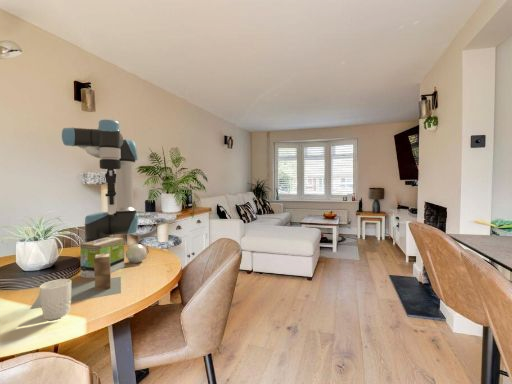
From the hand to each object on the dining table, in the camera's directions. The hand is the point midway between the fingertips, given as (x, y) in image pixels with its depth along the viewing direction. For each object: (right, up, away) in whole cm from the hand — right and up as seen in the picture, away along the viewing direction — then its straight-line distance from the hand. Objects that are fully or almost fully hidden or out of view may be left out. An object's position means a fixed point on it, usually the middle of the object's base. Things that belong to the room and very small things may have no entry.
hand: (111, 211), depth 108 cm
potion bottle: (-2, -28, +29) cm, 40 cm away
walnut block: (0, -29, -7) cm, 29 cm away
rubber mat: (-6, -29, -10) cm, 31 cm away
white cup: (-3, -30, -26) cm, 40 cm away
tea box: (-9, -29, +11) cm, 32 cm away
